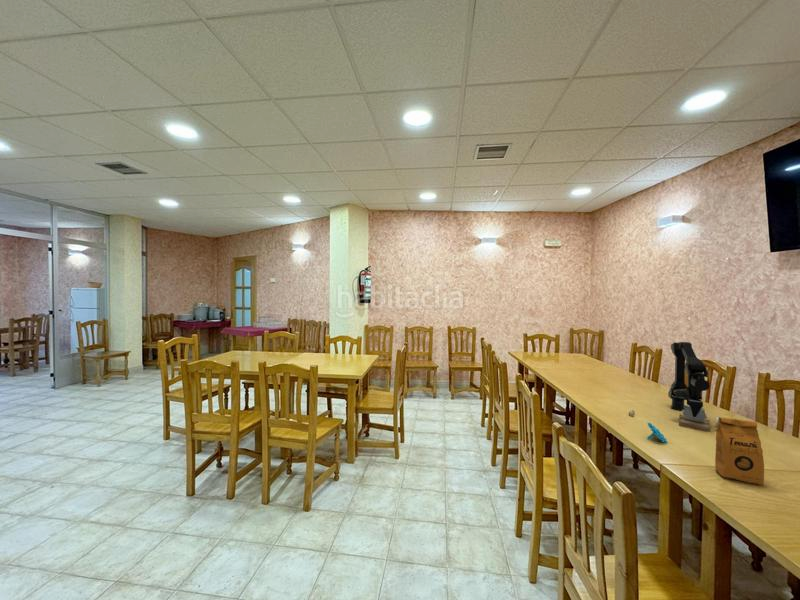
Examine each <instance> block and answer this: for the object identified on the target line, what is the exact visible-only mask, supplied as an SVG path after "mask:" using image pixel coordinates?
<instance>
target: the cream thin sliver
mask: <svg viewBox="0 0 800 600" xmlns="http://www.w3.org/2000/svg"><path fill="white" fill-rule="evenodd" d="M719 417H720V416H716V418H715V419H716V420H715V428H716V429H717V426H718V419H719ZM721 417H722V418H725V417H723V416H721Z"/></svg>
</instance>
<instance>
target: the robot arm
mask: <svg viewBox="0 0 800 600" xmlns="http://www.w3.org/2000/svg"><path fill="white" fill-rule="evenodd" d="M670 350H671V353H672V354H673V355H674V360H675V361H674V381H673V382H672V383H671V385H670V388H669V391H668V398H670V399H671V406H670V409H671V410H677V411H681V412H682V410H684V405H685V401H686V406H690V407H691V410H692V415H693V417H696V416H697V414H698V413H699V411H700V410H701V408H704V402H703V392H704V391H705V392H706V391H707V390H709V389H710V386H711V385H710V382H709V381H707V380H706V379H705V378H708V377H709V370H708V369H707V368H708V367H706V364H704V362H703V360H702V359H700V358H698V357H697V355H696V353H695V350H694V349H693V346H692V343H691V342H689V341H688V342H687V341H680V342H673V343H671V344H670ZM686 375H687V384H686V381H685V378H686Z"/></svg>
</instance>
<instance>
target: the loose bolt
mask: <svg viewBox="0 0 800 600" xmlns="http://www.w3.org/2000/svg"><path fill="white" fill-rule="evenodd" d="M628 415H629V417H634V416H635V410H633V409H632V410H631V411H629V412H628Z"/></svg>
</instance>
